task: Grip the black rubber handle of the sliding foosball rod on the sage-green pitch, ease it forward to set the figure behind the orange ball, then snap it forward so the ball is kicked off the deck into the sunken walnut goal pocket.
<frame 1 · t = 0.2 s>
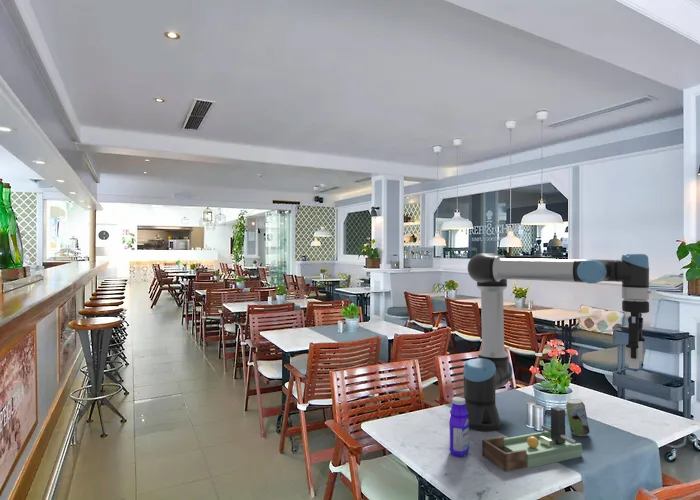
hand: (635, 364, 143), 28 cm above the table, fingers open, 13 cm apart
coffee cup: (548, 404, 185), on the table
ball: (532, 447, 137), point 2 cm above the table, touching pitch
goal: (504, 460, 133), on the table
pitch: (534, 455, 137), on the table
kicker: (553, 426, 140), point 8 cm above the table, slide at 0.0 cm
bottle: (459, 453, 139), on the table
beverage can: (577, 434, 154), on the table
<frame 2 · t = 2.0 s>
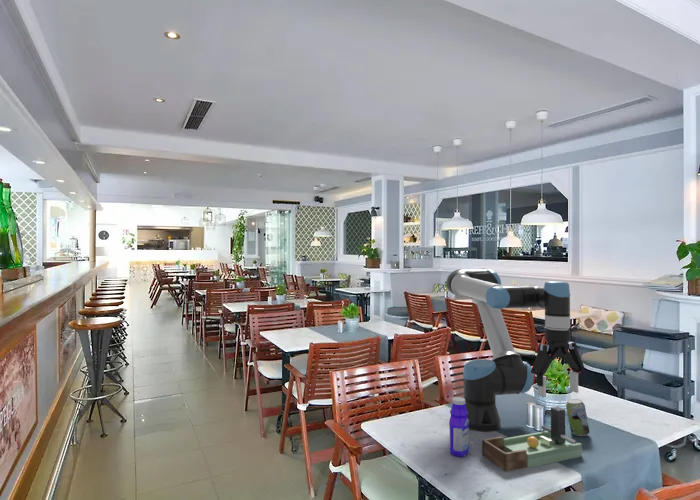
hand: (558, 393, 141), 18 cm above the table, fingers open, 13 cm apart
nothing on the table moved.
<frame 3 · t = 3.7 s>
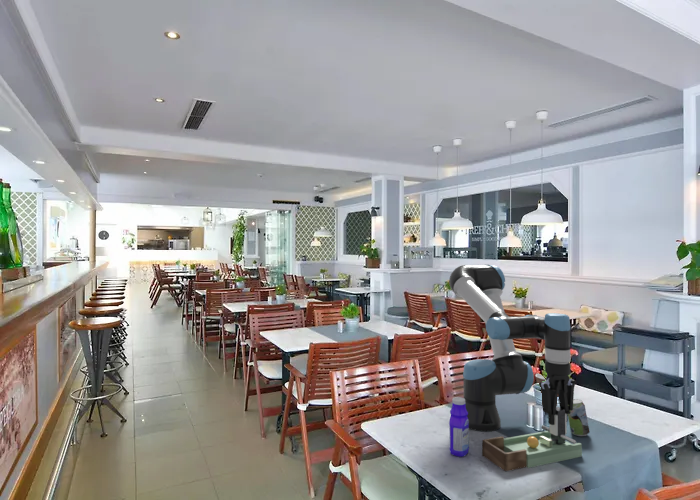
hand: (558, 433, 141), 6 cm above the table, fingers closed on kicker, 3 cm apart
kicker: (553, 426, 140), point 8 cm above the table, slide at 0.0 cm, touching gripper
everything else where it was.
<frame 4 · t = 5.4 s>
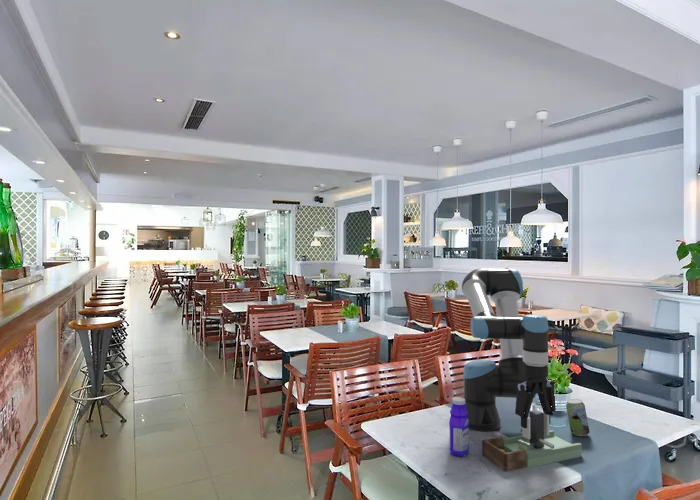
hand: (535, 435, 138), 6 cm above the table, fingers open, 7 cm apart
ball: (503, 459, 133), point 1 cm above the table, tilted 34°, touching goal
kicker: (531, 429, 137), point 8 cm above the table, slide at 8.9 cm
everything else where it was.
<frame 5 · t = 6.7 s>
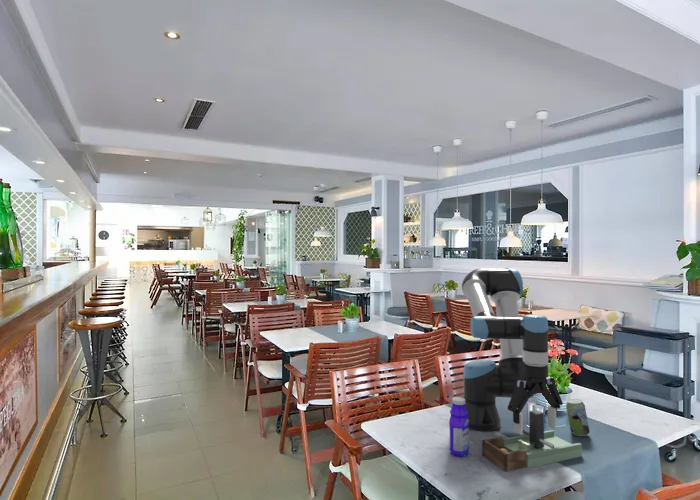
hand: (535, 430, 138), 8 cm above the table, fingers open, 13 cm apart
ball: (503, 460, 133), resting on goal
everything else where it was.
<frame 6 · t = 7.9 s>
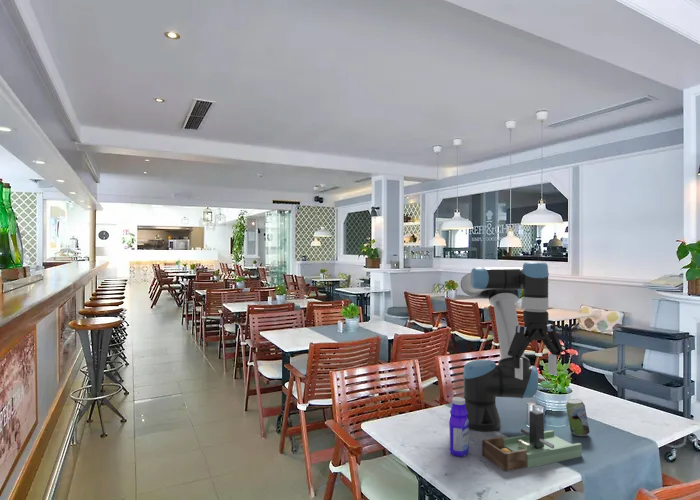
hand: (535, 376, 138), 25 cm above the table, fingers open, 13 cm apart
ball: (503, 459, 133), point 1 cm above the table, tilted 28°, touching goal
everything else where it was.
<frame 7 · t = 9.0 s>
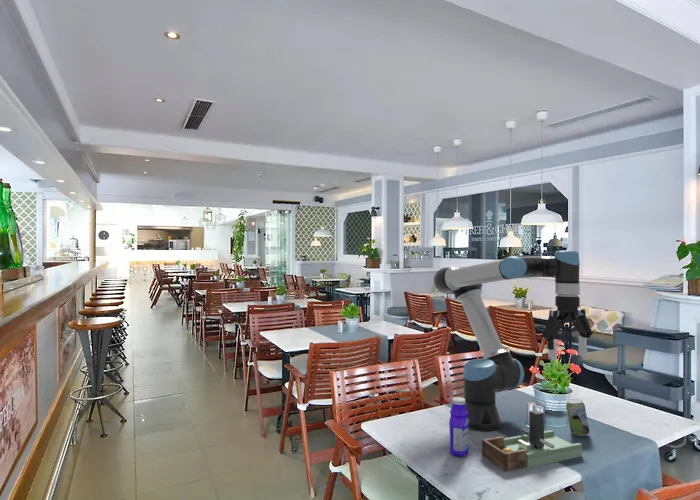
hand: (567, 357, 148), 29 cm above the table, fingers open, 13 cm apart
ball: (503, 457, 133), point 1 cm above the table, tilted 55°, touching goal
everything else where it was.
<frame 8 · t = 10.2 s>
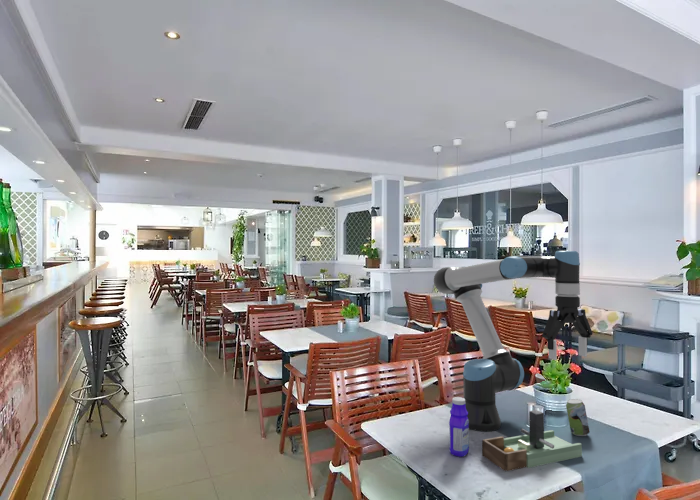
hand: (567, 357, 148), 29 cm above the table, fingers open, 13 cm apart
ball: (504, 455, 133), point 2 cm above the table, tilted 77°, touching goal
everything else where it was.
at the end: ball 0.0 cm from the goal (horizontally); ball point 1.7 cm above the table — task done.
